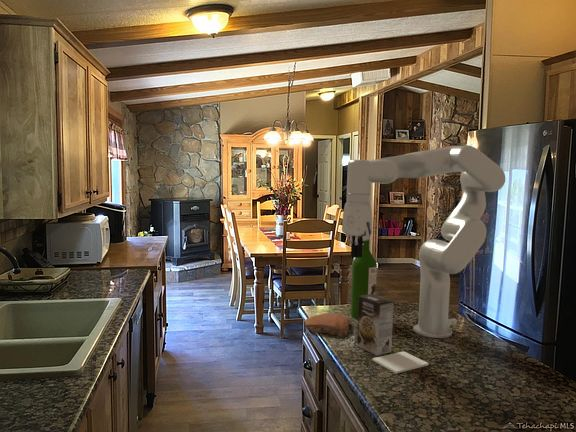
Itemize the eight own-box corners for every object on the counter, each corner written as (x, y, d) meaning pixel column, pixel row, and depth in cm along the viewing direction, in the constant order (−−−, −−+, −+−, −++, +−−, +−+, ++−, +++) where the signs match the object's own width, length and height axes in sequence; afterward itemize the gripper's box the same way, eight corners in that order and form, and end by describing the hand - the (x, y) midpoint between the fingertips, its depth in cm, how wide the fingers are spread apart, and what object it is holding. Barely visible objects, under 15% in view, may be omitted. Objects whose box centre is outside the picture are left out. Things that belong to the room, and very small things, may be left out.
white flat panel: (403, 353, 146) (403, 351, 146) (428, 365, 137) (428, 363, 137) (372, 360, 140) (372, 358, 140) (396, 373, 131) (396, 371, 131)
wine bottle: (368, 321, 175) (372, 231, 172) (346, 316, 180) (349, 229, 177) (378, 315, 183) (382, 229, 179) (357, 311, 188) (360, 227, 184)
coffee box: (355, 346, 150) (357, 295, 149) (371, 342, 154) (373, 292, 152) (376, 356, 143) (378, 302, 141) (392, 352, 146) (394, 299, 145)
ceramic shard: (310, 306, 175) (351, 315, 173) (307, 323, 175) (348, 333, 173) (304, 312, 161) (349, 322, 158) (300, 331, 161) (345, 342, 158)
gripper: (334, 197, 157) (333, 253, 159) (364, 201, 144) (361, 262, 146) (353, 197, 161) (351, 252, 163) (383, 200, 148) (381, 260, 150)
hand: (356, 256), depth 154 cm, fingers closed
